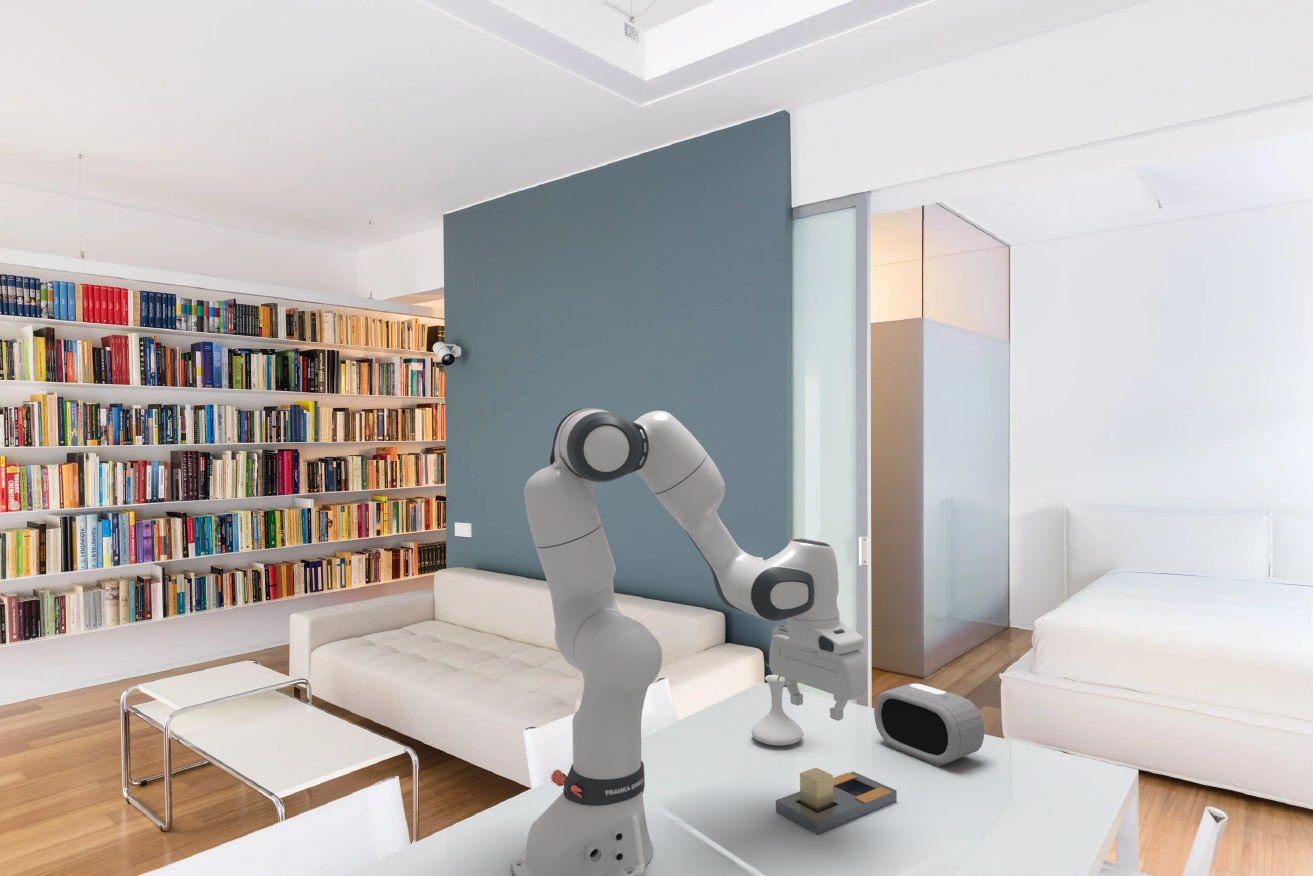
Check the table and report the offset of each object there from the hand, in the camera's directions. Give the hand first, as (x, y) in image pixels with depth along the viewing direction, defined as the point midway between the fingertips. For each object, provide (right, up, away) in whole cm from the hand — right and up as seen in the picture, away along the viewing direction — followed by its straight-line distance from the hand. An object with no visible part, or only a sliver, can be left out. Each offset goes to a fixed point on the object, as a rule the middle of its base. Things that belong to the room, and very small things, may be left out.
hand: (816, 711), depth 135 cm
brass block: (0, -18, 0) cm, 18 cm away
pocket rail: (+4, -19, +3) cm, 19 cm away
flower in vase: (0, -19, +36) cm, 41 cm away
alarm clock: (+29, -19, +28) cm, 45 cm away
